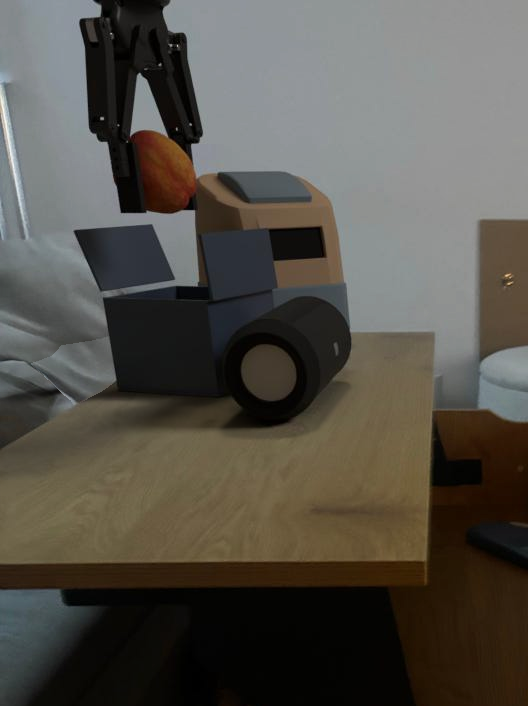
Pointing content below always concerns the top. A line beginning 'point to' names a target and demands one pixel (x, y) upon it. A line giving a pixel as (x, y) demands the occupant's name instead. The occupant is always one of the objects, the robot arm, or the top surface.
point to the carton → (192, 318)
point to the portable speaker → (286, 357)
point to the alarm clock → (278, 229)
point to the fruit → (164, 172)
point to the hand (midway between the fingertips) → (160, 211)
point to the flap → (124, 256)
